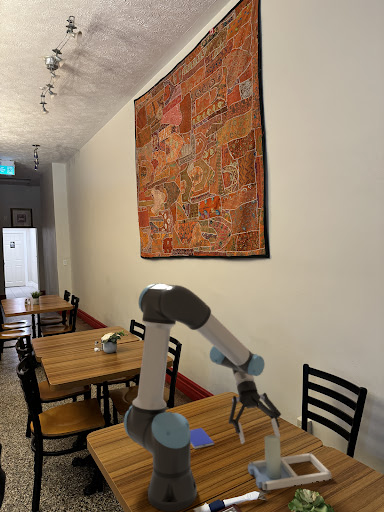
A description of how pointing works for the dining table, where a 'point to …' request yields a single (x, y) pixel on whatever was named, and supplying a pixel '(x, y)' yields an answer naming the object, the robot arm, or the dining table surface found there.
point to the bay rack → (287, 472)
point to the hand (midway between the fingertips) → (261, 440)
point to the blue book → (200, 438)
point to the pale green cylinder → (272, 457)
